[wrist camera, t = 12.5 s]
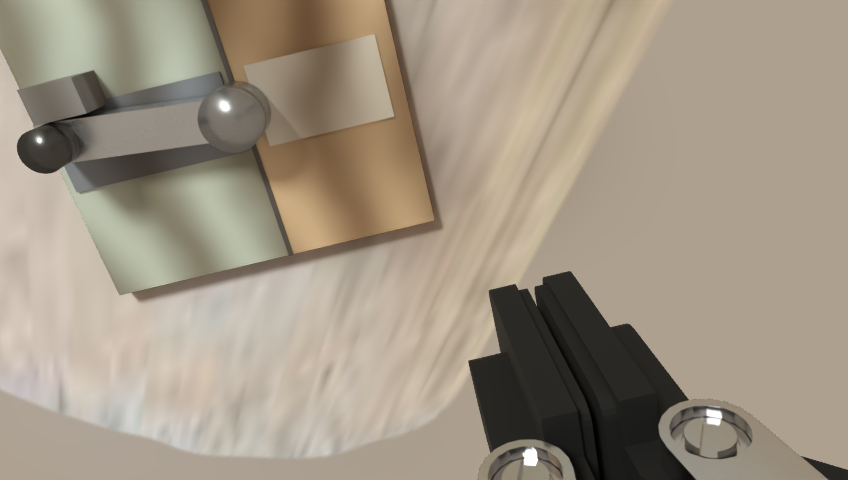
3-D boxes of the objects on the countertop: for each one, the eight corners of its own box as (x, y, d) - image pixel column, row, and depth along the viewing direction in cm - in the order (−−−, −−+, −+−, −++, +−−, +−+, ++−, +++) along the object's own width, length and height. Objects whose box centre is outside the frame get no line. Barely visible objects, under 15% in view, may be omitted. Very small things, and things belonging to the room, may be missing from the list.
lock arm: (263, 77, 36) (251, 88, 32) (276, 136, 38) (266, 153, 34) (44, 107, 36) (5, 122, 32) (65, 165, 37) (31, 186, 33)
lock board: (358, -109, 34) (357, -120, 30) (432, 214, 42) (439, 237, 38) (-19, -17, 34) (-68, -17, 31) (125, 287, 42) (101, 317, 39)
